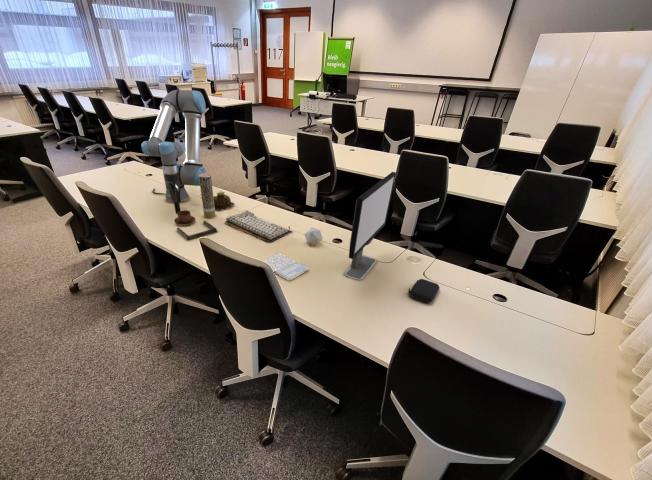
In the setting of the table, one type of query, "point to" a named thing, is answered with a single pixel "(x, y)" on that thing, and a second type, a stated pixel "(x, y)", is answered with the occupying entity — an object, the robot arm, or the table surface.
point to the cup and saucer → (184, 218)
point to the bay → (212, 230)
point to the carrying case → (424, 290)
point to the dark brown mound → (222, 201)
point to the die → (313, 236)
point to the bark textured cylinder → (207, 195)
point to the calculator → (285, 266)
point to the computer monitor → (368, 224)
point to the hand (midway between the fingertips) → (178, 213)
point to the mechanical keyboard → (256, 226)
